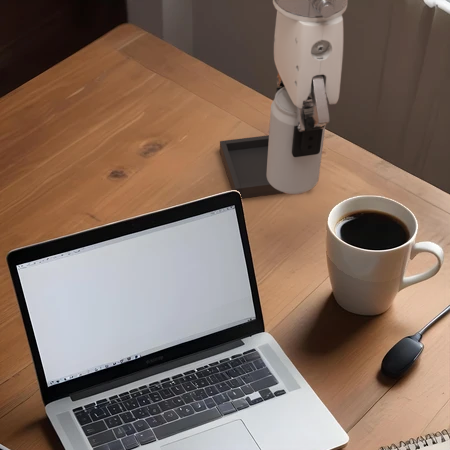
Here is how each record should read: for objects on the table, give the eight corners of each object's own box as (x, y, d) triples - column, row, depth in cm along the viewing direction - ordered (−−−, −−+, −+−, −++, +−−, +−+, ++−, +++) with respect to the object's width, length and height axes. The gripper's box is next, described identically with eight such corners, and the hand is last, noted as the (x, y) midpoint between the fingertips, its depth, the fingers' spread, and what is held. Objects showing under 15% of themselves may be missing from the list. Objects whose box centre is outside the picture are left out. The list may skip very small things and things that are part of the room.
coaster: (288, 143, 131) (289, 132, 129) (307, 190, 124) (309, 179, 123) (219, 151, 129) (219, 140, 128) (235, 199, 123) (235, 188, 121)
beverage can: (293, 205, 99) (301, 123, 90) (255, 179, 102) (259, 97, 93) (328, 181, 102) (340, 99, 93) (290, 156, 105) (298, 74, 96)
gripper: (376, 31, 78) (351, 178, 92) (321, -57, 89) (306, 87, 103) (299, 40, 77) (285, 188, 91) (253, -50, 88) (247, 95, 102)
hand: (296, 133), depth 97 cm, fingers closed on beverage can, 6 cm apart
